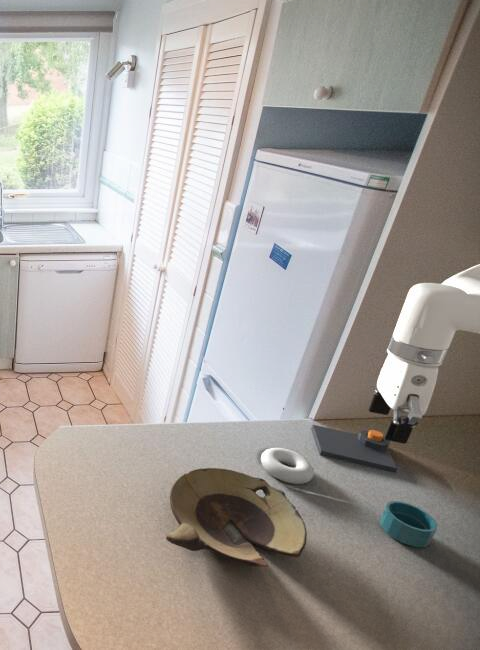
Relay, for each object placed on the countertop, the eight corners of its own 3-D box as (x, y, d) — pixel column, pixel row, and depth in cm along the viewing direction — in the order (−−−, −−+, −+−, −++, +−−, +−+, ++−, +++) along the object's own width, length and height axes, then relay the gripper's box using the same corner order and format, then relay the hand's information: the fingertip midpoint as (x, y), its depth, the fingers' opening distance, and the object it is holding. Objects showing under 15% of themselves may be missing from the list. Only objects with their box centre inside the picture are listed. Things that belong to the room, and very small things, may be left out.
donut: (275, 451, 109) (249, 464, 105) (279, 439, 108) (253, 452, 103) (321, 478, 101) (295, 493, 96) (325, 465, 99) (299, 480, 95)
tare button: (379, 436, 109) (381, 431, 108) (382, 443, 107) (385, 437, 106) (365, 433, 110) (367, 428, 109) (368, 440, 108) (370, 434, 107)
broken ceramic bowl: (335, 570, 80) (348, 539, 77) (175, 592, 77) (182, 561, 74) (247, 479, 100) (255, 451, 98) (119, 493, 97) (122, 465, 94)
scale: (381, 443, 110) (385, 433, 109) (397, 473, 101) (401, 463, 100) (310, 428, 116) (314, 418, 115) (319, 455, 107) (323, 445, 106)
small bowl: (420, 525, 88) (428, 508, 86) (434, 554, 82) (444, 537, 81) (373, 513, 91) (381, 496, 89) (385, 540, 85) (393, 523, 84)
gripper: (466, 376, 75) (428, 458, 81) (423, 334, 89) (394, 407, 96) (407, 367, 78) (376, 447, 84) (375, 328, 92) (350, 399, 99)
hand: (385, 426), depth 90 cm, fingers open, 9 cm apart
